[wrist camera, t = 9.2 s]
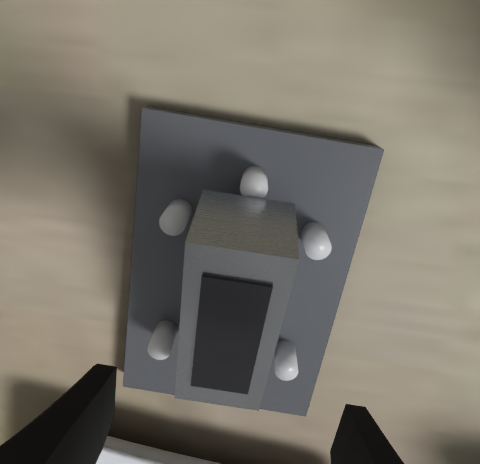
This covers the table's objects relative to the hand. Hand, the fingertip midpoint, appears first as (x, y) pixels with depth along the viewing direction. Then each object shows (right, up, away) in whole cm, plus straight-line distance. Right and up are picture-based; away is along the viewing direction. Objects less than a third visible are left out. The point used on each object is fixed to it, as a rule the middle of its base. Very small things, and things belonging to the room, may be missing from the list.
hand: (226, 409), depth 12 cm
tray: (0, +3, +9) cm, 10 cm away
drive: (0, +3, +7) cm, 8 cm away
